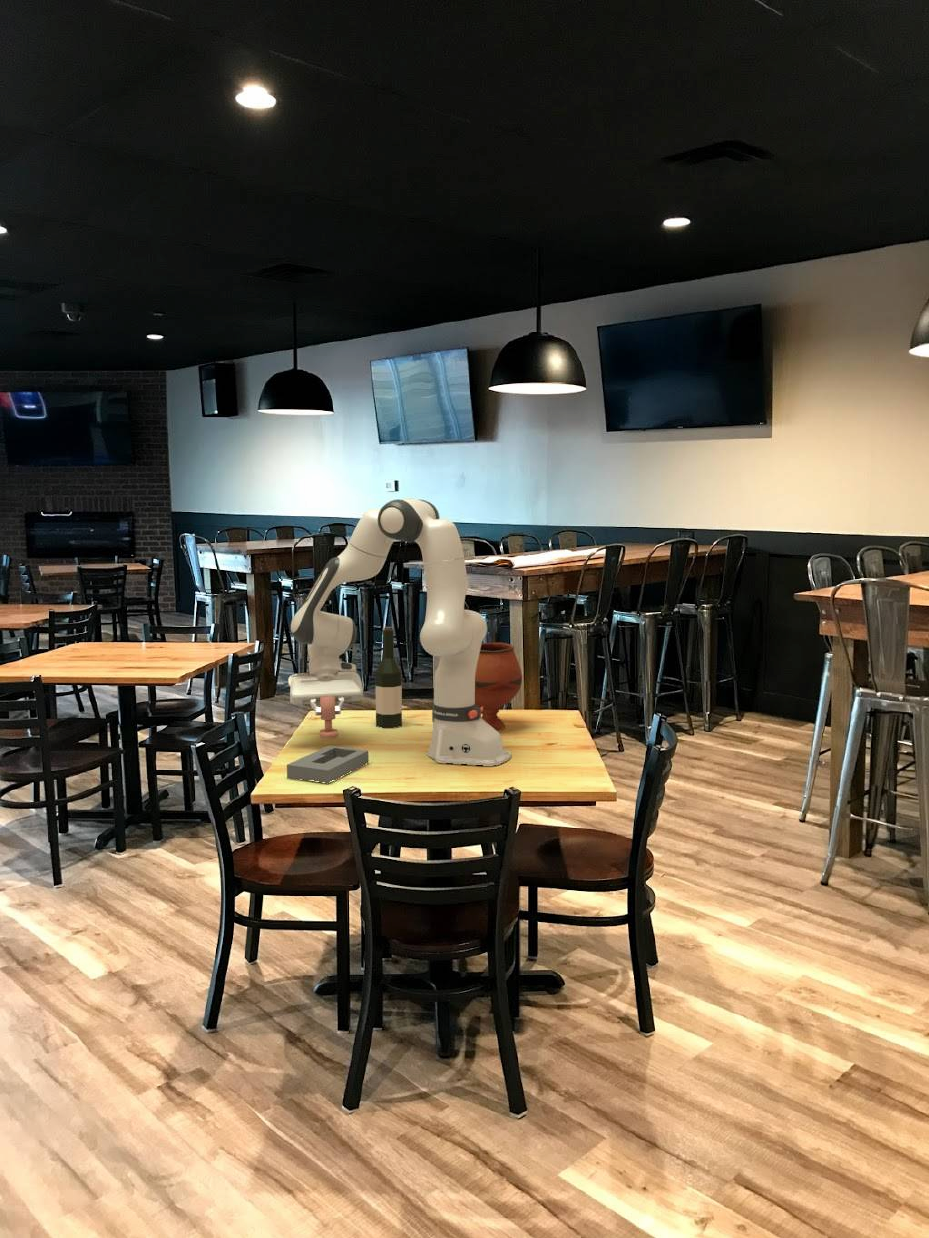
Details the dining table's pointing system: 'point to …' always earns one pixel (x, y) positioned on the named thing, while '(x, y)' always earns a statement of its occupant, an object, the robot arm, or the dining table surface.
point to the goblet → (496, 680)
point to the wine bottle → (388, 685)
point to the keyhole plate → (327, 764)
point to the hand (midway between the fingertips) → (328, 713)
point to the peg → (328, 716)
